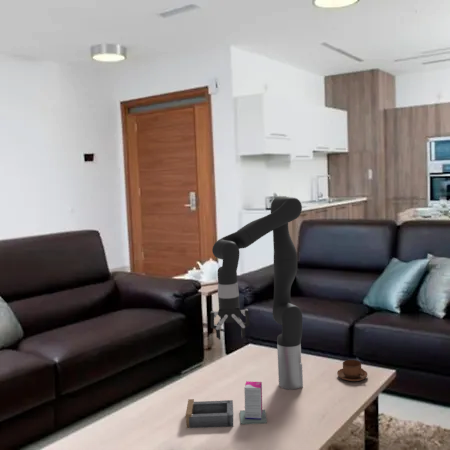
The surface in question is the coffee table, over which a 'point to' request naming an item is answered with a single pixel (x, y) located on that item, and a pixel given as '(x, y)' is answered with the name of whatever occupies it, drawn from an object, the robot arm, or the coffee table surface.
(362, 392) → the coffee table surface
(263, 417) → the rubber pad
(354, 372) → the cup and saucer
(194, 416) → the grey wooden frame
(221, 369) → the coffee table surface
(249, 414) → the supplement box
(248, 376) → the coffee table surface
